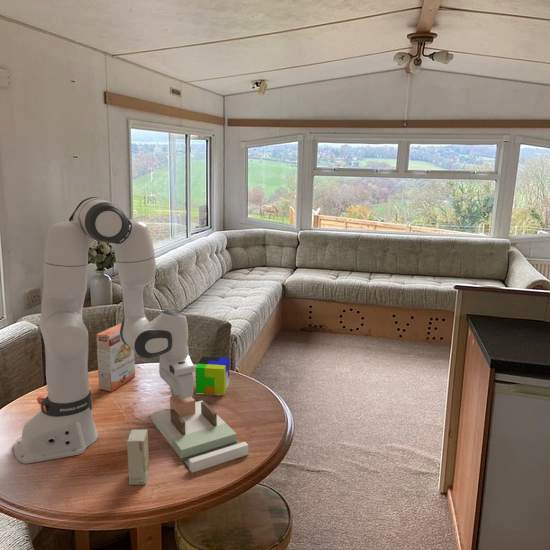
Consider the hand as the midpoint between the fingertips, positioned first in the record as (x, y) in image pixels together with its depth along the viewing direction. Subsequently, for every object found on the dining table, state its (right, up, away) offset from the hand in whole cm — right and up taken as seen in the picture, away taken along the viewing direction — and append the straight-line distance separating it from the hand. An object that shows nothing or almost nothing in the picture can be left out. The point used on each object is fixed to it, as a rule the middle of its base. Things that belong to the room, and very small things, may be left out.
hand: (175, 399), depth 168 cm
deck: (+9, -8, -13) cm, 18 cm away
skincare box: (-3, -13, -33) cm, 35 cm away
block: (+3, -3, -4) cm, 6 cm away
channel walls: (+7, -4, -11) cm, 14 cm away
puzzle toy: (+10, -1, +19) cm, 21 cm away
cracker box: (-25, +1, +22) cm, 33 cm away
